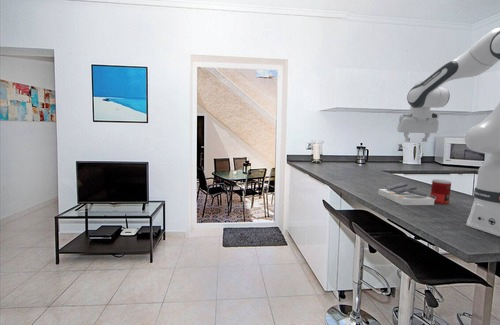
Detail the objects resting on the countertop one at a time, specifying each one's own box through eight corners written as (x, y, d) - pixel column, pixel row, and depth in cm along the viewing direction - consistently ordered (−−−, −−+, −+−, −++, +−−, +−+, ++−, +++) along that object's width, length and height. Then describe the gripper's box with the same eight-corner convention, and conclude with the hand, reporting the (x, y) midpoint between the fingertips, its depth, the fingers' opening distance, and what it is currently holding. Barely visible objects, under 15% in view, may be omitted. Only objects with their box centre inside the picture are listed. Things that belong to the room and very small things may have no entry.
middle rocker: (416, 189, 147) (416, 186, 147) (398, 193, 147) (398, 191, 146) (411, 187, 152) (410, 185, 152) (393, 191, 151) (393, 189, 151)
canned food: (448, 205, 140) (451, 183, 139) (429, 202, 145) (431, 180, 144) (449, 202, 146) (451, 180, 145) (430, 199, 151) (433, 178, 150)
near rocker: (426, 197, 141) (426, 194, 141) (408, 192, 139) (408, 190, 139) (419, 195, 145) (420, 192, 145) (402, 190, 144) (403, 188, 144)
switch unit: (433, 205, 140) (434, 198, 139) (403, 205, 138) (403, 198, 138) (404, 194, 162) (405, 188, 161) (378, 194, 160) (378, 188, 159)
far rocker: (407, 186, 154) (407, 184, 154) (390, 190, 154) (390, 188, 153) (402, 184, 159) (402, 182, 158) (385, 188, 158) (385, 186, 158)
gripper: (404, 113, 142) (400, 141, 144) (442, 115, 144) (438, 142, 147) (396, 113, 148) (393, 140, 150) (432, 115, 150) (429, 141, 153)
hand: (415, 141), depth 148 cm, fingers open, 8 cm apart
